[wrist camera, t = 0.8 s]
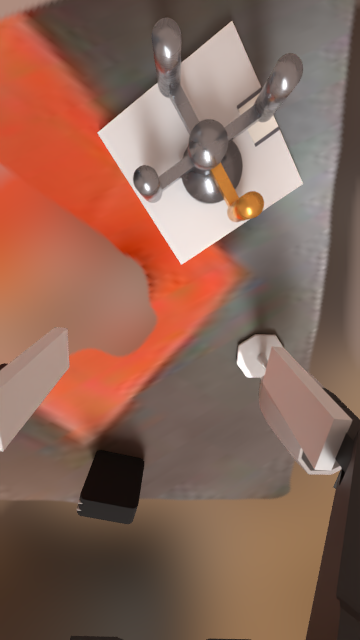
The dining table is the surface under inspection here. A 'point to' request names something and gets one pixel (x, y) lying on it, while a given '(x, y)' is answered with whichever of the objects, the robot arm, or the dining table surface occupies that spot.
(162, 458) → the dining table surface
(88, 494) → the electronic device
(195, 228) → the stand plate
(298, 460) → the wineglass
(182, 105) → the silver metal piece
